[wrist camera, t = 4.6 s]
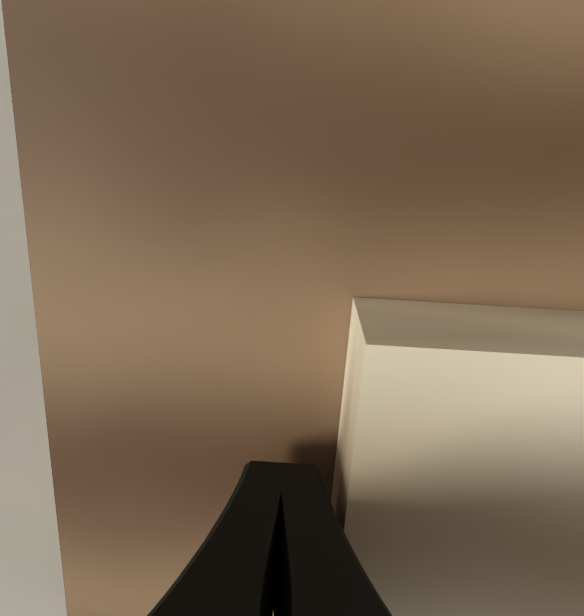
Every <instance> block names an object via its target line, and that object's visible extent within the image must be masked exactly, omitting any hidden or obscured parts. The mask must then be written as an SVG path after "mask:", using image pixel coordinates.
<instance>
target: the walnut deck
mask: <svg viewBox="0 0 584 616" xmlns="http://www.w3.org/2000/svg"><path fill="white" fill-rule="evenodd" d="M2 10H3V19H4V28H5V38H6V47H7V56H8V66H9V75H10V84H11V94H12V103H13V112H14V122H15V131H16V140H17V150H18V159H19V168H20V178H21V187H22V196H23V206H24V215H25V224H26V234H27V243H28V252H29V262H30V271H31V280H32V289H33V299H34V308H35V317H36V327H37V336H38V345H39V355H40V364H41V373H42V383H43V392H44V401H45V411H46V420H47V429H48V439H49V448H50V457H51V467H52V476H53V485H54V495H55V504H56V513H57V523H58V532H59V541H60V551H61V560H62V569H63V579H64V588H65V597H66V607H67V616H147V615H148V614H149V613H150V611H151V610H152V609H153V608H154V607H155V606H156V604H157V603H158V602H159V601H160V599H161V598H162V597H163V596H164V595H165V593H166V592H167V591H168V590H169V588H170V587H171V586H172V584H173V583H174V582H175V581H176V579H177V578H178V577H179V575H180V574H181V572H182V571H183V570H184V568H185V567H186V566H187V564H188V563H189V561H190V560H191V559H192V557H193V556H194V554H195V553H196V552H197V550H198V549H199V547H200V546H201V545H202V543H203V542H204V540H205V539H206V537H207V536H208V534H209V532H210V531H211V529H212V527H213V526H214V524H215V523H216V521H217V519H218V518H219V516H220V515H221V513H222V511H223V510H224V508H225V506H226V504H227V502H228V501H229V499H230V497H231V495H232V493H233V491H234V489H235V487H236V485H237V483H238V481H239V479H240V477H241V474H242V472H243V469H244V466H245V465H246V464H247V463H248V462H250V461H267V462H283V463H300V464H315V466H316V467H317V468H318V469H319V470H320V474H321V477H322V480H323V484H324V487H325V489H326V492H327V495H328V497H329V500H330V502H331V497H332V487H333V478H334V469H335V459H336V450H337V441H338V431H339V422H340V413H341V403H342V394H343V385H344V375H345V366H346V357H347V347H348V338H349V329H350V319H351V310H352V301H353V297H361V298H377V299H393V300H410V301H426V302H442V303H458V304H475V305H491V306H507V307H523V308H540V309H556V310H572V311H584V0H2ZM273 616H274V614H273Z"/></svg>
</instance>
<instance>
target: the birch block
mask: <svg viewBox="0 0 584 616" xmlns="http://www.w3.org/2000/svg"><path fill="white" fill-rule="evenodd" d="M331 505H332V507H333V509H334V512H335V514H336V516H337V518H338V520H339V523H340V525H341V527H342V529H343V531H344V533H345V535H346V537H347V539H348V541H349V543H350V545H351V547H352V549H353V551H354V552H355V554H356V556H357V558H358V560H359V562H360V564H361V565H362V567H363V569H364V571H365V572H366V574H367V576H368V577H369V579H370V581H371V583H372V584H373V586H374V588H375V589H376V591H377V593H378V594H379V596H380V597H381V599H382V601H383V602H384V604H385V605H386V607H387V608H388V610H389V611H390V613H391V615H392V616H584V311H572V310H556V309H540V308H523V307H507V306H491V305H475V304H458V303H442V302H426V301H410V300H393V299H377V298H361V297H353V301H352V310H351V319H350V329H349V338H348V347H347V357H346V366H345V375H344V385H343V394H342V403H341V413H340V422H339V431H338V441H337V450H336V459H335V469H334V478H333V487H332V497H331Z"/></svg>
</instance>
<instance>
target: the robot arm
mask: <svg viewBox="0 0 584 616" xmlns="http://www.w3.org/2000/svg"><path fill="white" fill-rule="evenodd" d="M273 614H274V616H392V615H391V613H390V611H389V610H388V608H387V607H386V605H385V604H384V602H383V601H382V599H381V597H380V596H379V594H378V593H377V591H376V589H375V588H374V586H373V584H372V583H371V581H370V579H369V577H368V576H367V574H366V572H365V571H364V569H363V567H362V565H361V564H360V562H359V560H358V558H357V556H356V554H355V552H354V551H353V549H352V547H351V545H350V543H349V541H348V539H347V537H346V535H345V533H344V531H343V529H342V527H341V525H340V523H339V520H338V518H337V516H336V514H335V512H334V509H333V507H332V505H331V502H330V500H329V497H328V495H327V492H326V489H325V487H324V484H323V480H322V477H321V474H320V470H319V469H318V468H317V467H316V466H315V464H300V463H283V462H267V461H250V462H248V463H247V464H246V465H245V466H244V469H243V472H242V474H241V477H240V479H239V481H238V483H237V485H236V487H235V489H234V491H233V493H232V495H231V497H230V499H229V501H228V502H227V504H226V506H225V508H224V510H223V511H222V513H221V515H220V516H219V518H218V519H217V521H216V523H215V524H214V526H213V527H212V529H211V531H210V532H209V534H208V536H207V537H206V539H205V540H204V542H203V543H202V545H201V546H200V547H199V549H198V550H197V552H196V553H195V554H194V556H193V557H192V559H191V560H190V561H189V563H188V564H187V566H186V567H185V568H184V570H183V571H182V572H181V574H180V575H179V577H178V578H177V579H176V581H175V582H174V583H173V584H172V586H171V587H170V588H169V590H168V591H167V592H166V593H165V595H164V596H163V597H162V598H161V599H160V601H159V602H158V603H157V604H156V606H155V607H154V608H153V609H152V610H151V611H150V613H149V614H148V615H147V616H273Z"/></svg>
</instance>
